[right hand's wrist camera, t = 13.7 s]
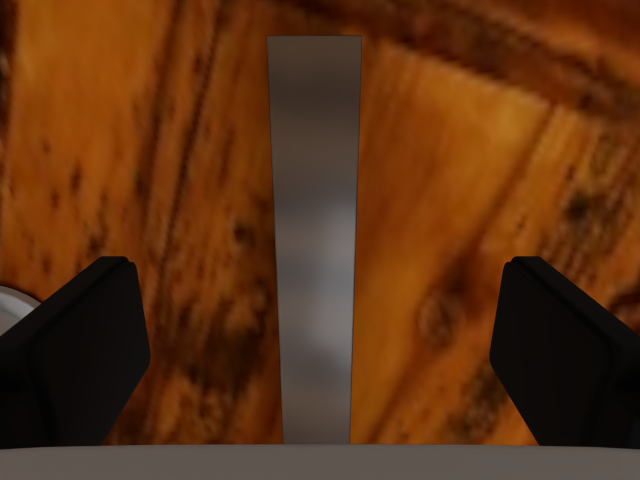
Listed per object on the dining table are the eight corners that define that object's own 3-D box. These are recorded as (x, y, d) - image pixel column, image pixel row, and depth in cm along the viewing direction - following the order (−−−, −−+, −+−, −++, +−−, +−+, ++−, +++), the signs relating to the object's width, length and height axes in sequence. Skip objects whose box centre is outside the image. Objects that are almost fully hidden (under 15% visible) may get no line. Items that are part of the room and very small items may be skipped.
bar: (280, 48, 29) (266, 35, 21) (350, 48, 29) (362, 35, 21) (298, 617, 50) (293, 717, 42) (338, 617, 50) (341, 717, 42)
